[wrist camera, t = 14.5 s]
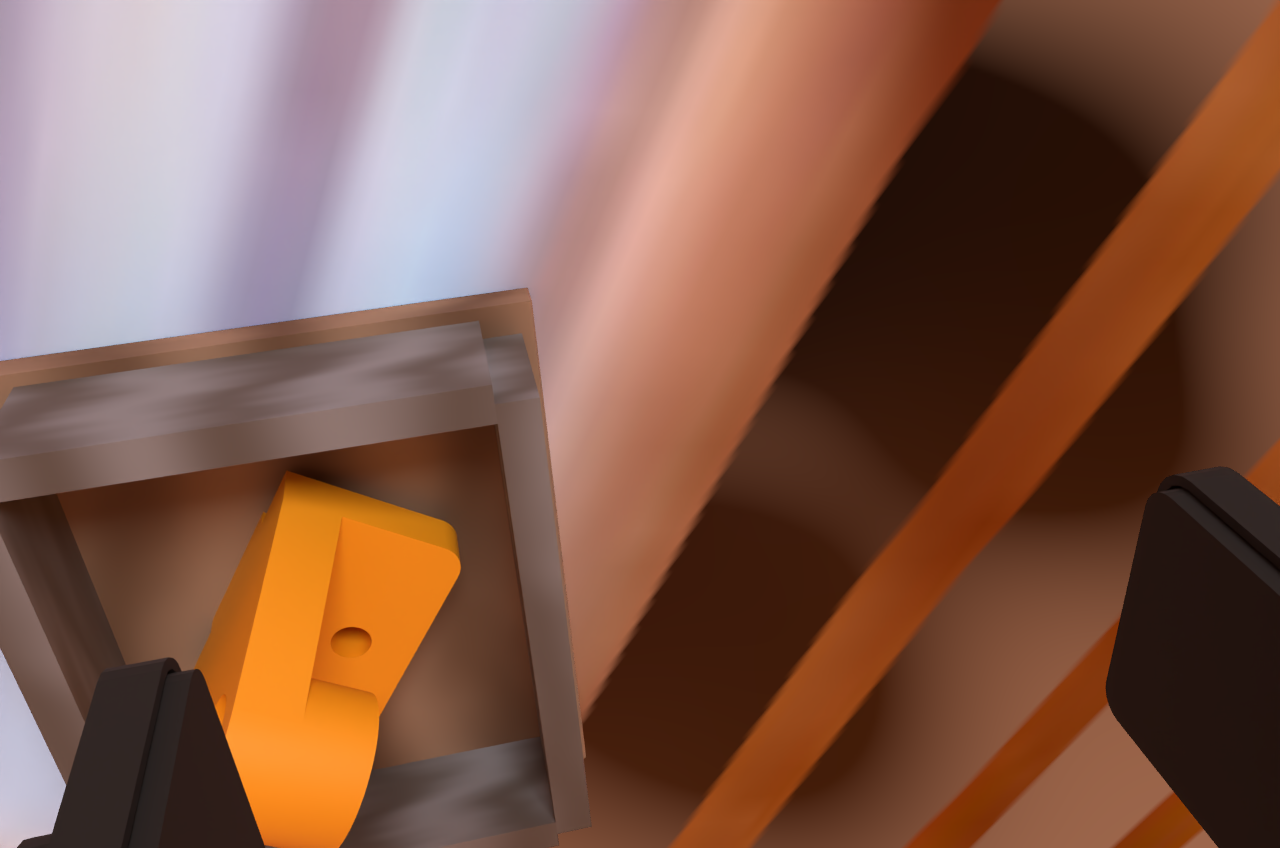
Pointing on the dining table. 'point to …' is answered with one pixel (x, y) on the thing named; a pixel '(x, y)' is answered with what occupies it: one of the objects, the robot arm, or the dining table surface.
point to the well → (243, 489)
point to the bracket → (320, 649)
